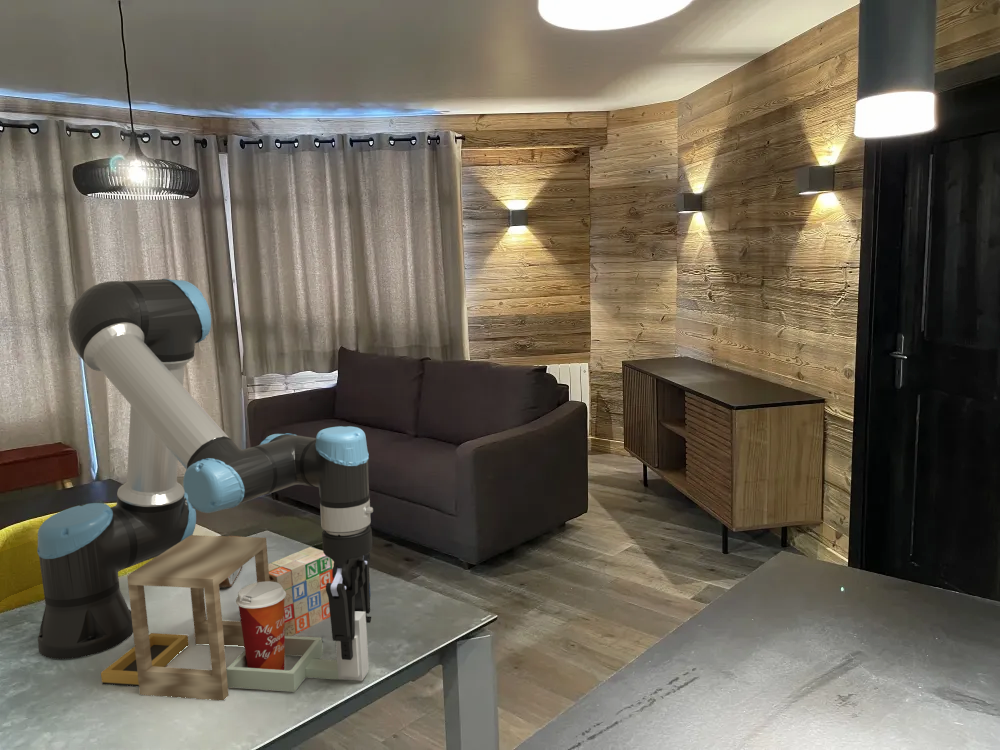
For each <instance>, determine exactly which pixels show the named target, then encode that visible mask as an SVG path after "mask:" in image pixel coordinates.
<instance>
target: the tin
mask: <svg viewBox="0 0 1000 750" xmlns="http://www.w3.org/2000/svg"><path fill="white" fill-rule="evenodd" d="M228 536H229V537H242V536H241V535H228ZM242 569H243V566H241V567H240V568H239V569H238V570H236V571H235V572H234V573H233V574H231V575H230V576H229V577H228V578H226V579H225V580H224V581H223V582H221V583H220V584H219V589H220V588H232V586H233V585H234V583H235V582H236V580H237V579H238V577H239V575H240V573H241V572H240V571H242ZM237 576H238V577H237ZM236 578H237V579H236ZM234 581H235V582H234Z"/></svg>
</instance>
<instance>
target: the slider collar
mask: <svg viewBox="0 0 1000 750" xmlns="http://www.w3.org/2000/svg"><path fill="white" fill-rule="evenodd" d="M355 636H358V654H359V672H360V675H359V676H358V677H348V676H341V659H340V642H339V641H335V646H336V647H335V648H336V649H335V650H336V659H324V658H322V657H323V655H324V650H323V648H324V647H323V637H317V636H316V637H314V636H313V637H312V636H297V635H296V636H295V635H292V636H285V656H297V657H298V656H299V657H300V659H298V661H297V662H296V663H295V664H294V666H293V667H292V668H291V669H290V670H286V669H284V670H275V669H259V668H248V666H247V660H246V653H245V649H244V650H243V651H242V653H241V654H239V655H238V657H237V658H236V659H235V660H233V661H232V663H230V665H228V667H226V671H227V683H228V688H233V689H247V690H249V689H251V690H263V691H264V690H265V691H277V692H278V691H280V692H291V693H292V692H293V693H295V692H296V691H297V689H298V688H299V687H300V686H301V684H302V683H303V681H305V679H306V678H309V679H310V678H311V679H325V680H326V679H327V680H347V681H348V680H351V681H363V680H364V679H365V677H366V676H367V674H368V672H369V671H370V668H369V667H370V665H369V649H368V648H369V647H368V632H367V623H366V612H362V611H355Z"/></svg>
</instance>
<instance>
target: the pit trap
mask: <svg viewBox="0 0 1000 750" xmlns="http://www.w3.org/2000/svg"><path fill="white" fill-rule="evenodd" d="M149 641H150V650H151V660H152V666H156V667H167V666H168V665H169V664H170V663H171V662H172V661H173V660H174V659H173V658H174V657H175V656H176V655H177V654H179V652H180V651H182V650H183V649H184V648H185V647H186V646H188V645H189V644H190V643H189V636H188V634H178V633H177V634H176V633H175V634H174V633H158V632H157V633H156V632H150V633H149ZM189 646H190V645H189ZM189 646H188V647H189ZM182 652H183V651H182ZM179 655H180V654H179ZM172 659H173V660H172ZM171 660H172V661H171ZM170 661H171V662H170ZM169 662H170V663H169ZM168 663H169V664H168ZM167 664H168V665H167ZM166 665H167V666H166ZM100 676H101V684H102V686H104V685H105V686H121V687H131V688H132V687H134V688H139V682H138V673H137V663H136V654H135V645H134V646H133V647H132V648H130V649H129V650H128V651H127V652H125V653H124V654H122V656H120V657H119V658H117V660H115V661H113V662H112V663H111V664H110V665H108V667H106V668H105V669H103V670H102V671H101V672H100Z"/></svg>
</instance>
